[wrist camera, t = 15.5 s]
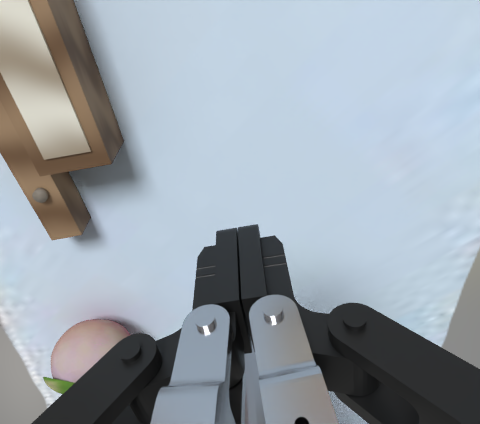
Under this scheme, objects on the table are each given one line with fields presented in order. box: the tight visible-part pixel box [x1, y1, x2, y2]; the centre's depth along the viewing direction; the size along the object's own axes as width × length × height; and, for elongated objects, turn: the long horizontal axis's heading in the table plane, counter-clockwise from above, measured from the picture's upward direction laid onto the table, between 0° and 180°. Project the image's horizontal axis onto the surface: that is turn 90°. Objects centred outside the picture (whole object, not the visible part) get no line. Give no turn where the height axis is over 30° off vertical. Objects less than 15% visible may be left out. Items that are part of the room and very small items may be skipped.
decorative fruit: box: [43, 319, 130, 394], centre depth 42 cm, size 9×8×10 cm
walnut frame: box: [0, 0, 124, 176], centre depth 28 cm, size 16×6×5 cm, turn 9°
